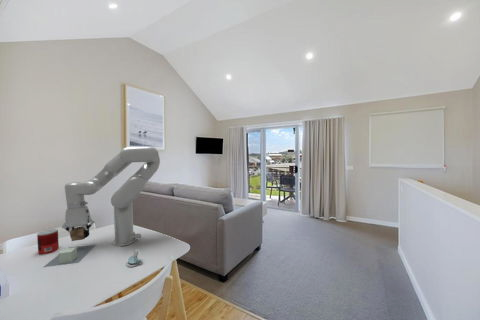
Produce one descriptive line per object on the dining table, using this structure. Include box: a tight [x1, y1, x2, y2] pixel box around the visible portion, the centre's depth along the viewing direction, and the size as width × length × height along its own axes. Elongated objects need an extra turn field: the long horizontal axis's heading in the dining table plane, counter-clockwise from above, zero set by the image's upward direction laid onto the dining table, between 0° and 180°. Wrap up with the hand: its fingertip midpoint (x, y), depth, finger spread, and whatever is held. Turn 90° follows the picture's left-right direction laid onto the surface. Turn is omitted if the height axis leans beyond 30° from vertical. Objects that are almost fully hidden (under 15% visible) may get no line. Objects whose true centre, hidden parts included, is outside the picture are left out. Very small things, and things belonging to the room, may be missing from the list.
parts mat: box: [43, 243, 98, 268], centre depth 103 cm, size 14×20×1 cm
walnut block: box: [70, 226, 86, 242], centre depth 109 cm, size 6×6×6 cm
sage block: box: [58, 246, 77, 264], centre depth 97 cm, size 5×5×5 cm
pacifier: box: [125, 249, 143, 268], centre depth 94 cm, size 7×6×6 cm
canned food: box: [36, 228, 60, 255], centre depth 107 cm, size 8×8×11 cm
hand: (80, 237), depth 109 cm, fingers closed on walnut block, 5 cm apart
